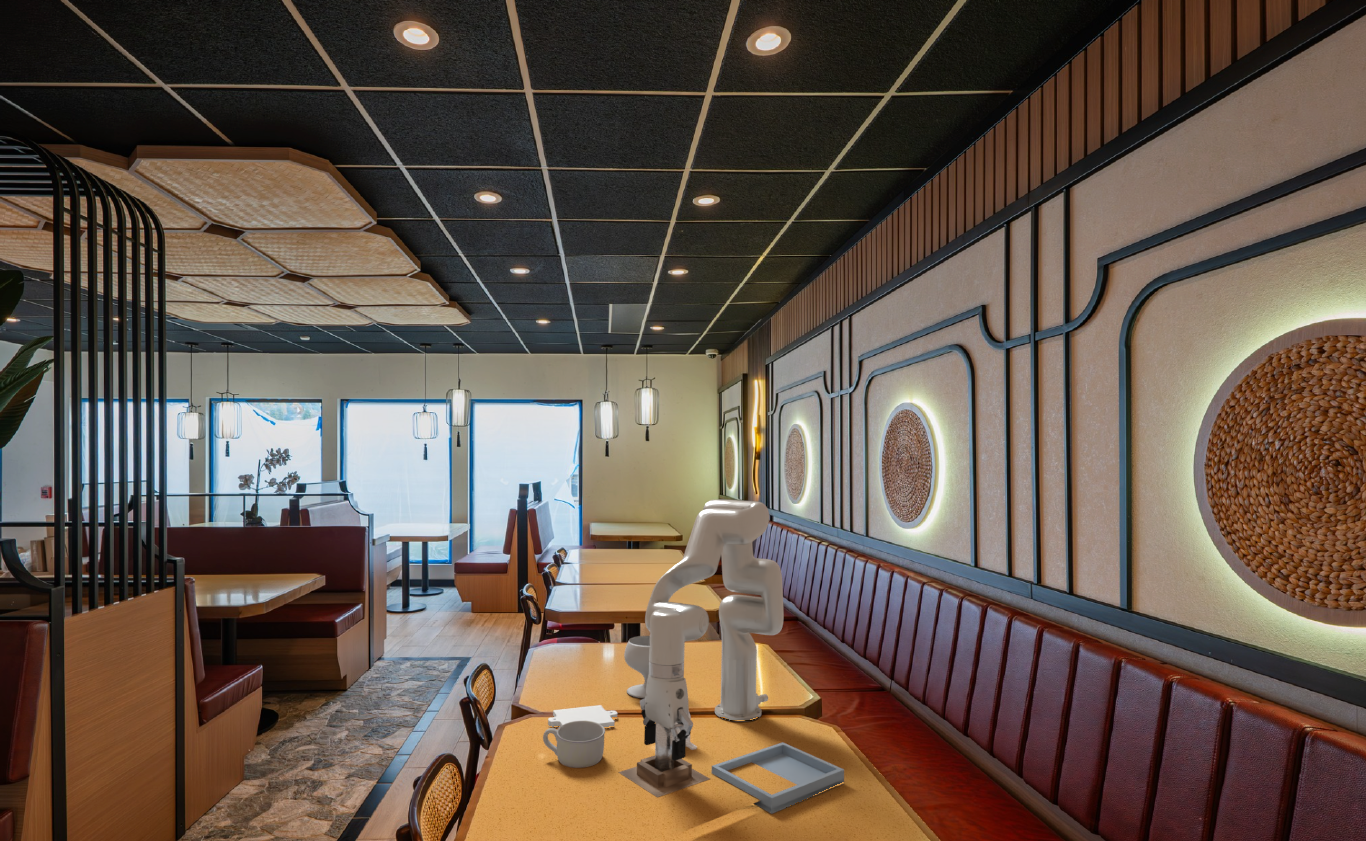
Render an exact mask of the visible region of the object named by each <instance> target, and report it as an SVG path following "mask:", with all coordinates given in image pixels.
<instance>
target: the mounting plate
mask: <svg viewBox="0 0 1366 841" xmlns="http://www.w3.org/2000/svg"><path fill="white" fill-rule="evenodd" d="M553 716H554V717H553ZM612 717H617V718H618V712H617V710H615V709H614V710H612V709H611V710H606V709H605V708H604V707H603V705H602V704H597V705H589V706H579V707H573V708H572V707H571V708H563V709H562V708H561V709H554V710H552V717H551V716H550V717H548V719H547V721H548V722H547V725H549V726H552V727H554V726H560V727H561V726H562V725H564V724H566V723H569V722H573V721H592V722H596V723H598V724H600V725H602V726H603V727H609V726H614V727H615V720H613V719H612ZM549 726H548V727H549Z"/></svg>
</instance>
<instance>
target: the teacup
mask: <svg viewBox="0 0 1366 841" xmlns="http://www.w3.org/2000/svg"><path fill="white" fill-rule="evenodd" d="M549 734H551V735H552V734H553V736H554V737H555V738H554V739H555V741H556V745H554V744H553V743H552V742H551V741H550V740H549V737H548V735H549ZM605 734H606V729H605V728H604V727H603V726H602V725H600V724H598V723H596V722H592V721H573V722H569V723H566V724H564V725H562V726H561V727H557V729H556V727H555V728H550V727H548V728H547V729H546V730H544V732H543V736H542V740H543V743H544V745H545V747H547V748H548V749H550V750H551V751H552V752H554V754H555V756H556V757H557V760H558V761H559V763H560V764H561V765H563V766H565V767H568V768H573V769H574V768H575V769H577V768H579V769H580V768H581V769H583V768H588V767H591V766H595V765H597V764H598V763H599V762H601V760H602V759H603V755H604V750H605Z"/></svg>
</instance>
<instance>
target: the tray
mask: <svg viewBox="0 0 1366 841" xmlns="http://www.w3.org/2000/svg"><path fill="white" fill-rule="evenodd" d="M750 763H753V764H754V765H757V766H759V767H761V768H762V769H764V770H766V771H768V772H770V773H773V774H775V775H777V776H778V777H780V778H783V779H785V780H787V781H789V782H791V783H793V784H795V785H794V786H791V787H788V788H785V789H783V790H780V791H778V792H775V793H772V794H771V793H770V792H767V791H765V790H764V789H762V788H760V787H758V786H756V785H754V784H752V783H751V782H748V781H746V780H744V779H742V778H741V777H740V776H737V775H736V774H733V773H732V772H730V771H731V770H732V769H733V770H734V769H735V768H739V767H742V766H745V765H748V764H750ZM711 774H712V775H714V776H715V777H718V778H719V779H721V780H723V781H725V782H727V783H728V784H730V785H731V786H733V787H736V788H738V789H740V790H741V791H743V792H745V793H746V794H748V795H751V797H754V798H756V799H758V801H756V802H754V803H752V804H753V805H755V806H757V807H759V808H761V809H762V810H764V811H766V813H767V812H768V813H769V814H771V815H773V814H775V813H777V812H780V811H782V810H784V809H787V808H789V807H791V806H790V805H792V806H794V805H796V804H795V803H797V802H799V803H801V802H803V801H802V800H804V799H806V800H808V799H807V798H809V797H811V798H813V797H814V796H813V795H815V794H818V793H819V792H822V791H824V790H826V789H829V788H830V787H833V786H835V785H837V784H840V783H842V782H844V783H845V769H844V768H841V767H840V766H837V765H835V764H833V763H830V762H829V761H826V760H824V759H821V758H819V757H817V756H814V755H812V754H810V753H808V752H806V751H804V750H801V749H799V748H797V747H795V746H792V745H789V744H787V743H785V742H783V741H782V742H780V743H776V744H774V745H771V746H768V747H764V748H761V749H759V750H756V751H752V752H749V753H746V754H743V755H741V756H737V757H735V758H732V759H728V760H726V761H722V762H719V763H716V764H714V765H711ZM818 795H819V794H818ZM812 796H813V797H812ZM809 799H810V798H809ZM804 801H805V800H804ZM797 804H798V803H797ZM786 807H787V808H786Z"/></svg>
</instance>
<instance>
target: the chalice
mask: <svg viewBox="0 0 1366 841" xmlns="http://www.w3.org/2000/svg"><path fill="white" fill-rule="evenodd" d="M624 649H625V650H624V654H623V656H624V661H625V663H626V665H627V666H628V667H630V668H631V669H632V670H634V671H637V672H638V673H639V674H641V676H643V680H644V682H643V684H636V685H632V686H630V687H628V688H627V689H626V694H628V695H629V696H632V697H633V698H637V699H638V698H639V699H645V697H646V687H647V680H648V675H649V651H650V635H638V636H633V637H631V638H629V640H628V642H627V643H626V645H625V648H624Z"/></svg>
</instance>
